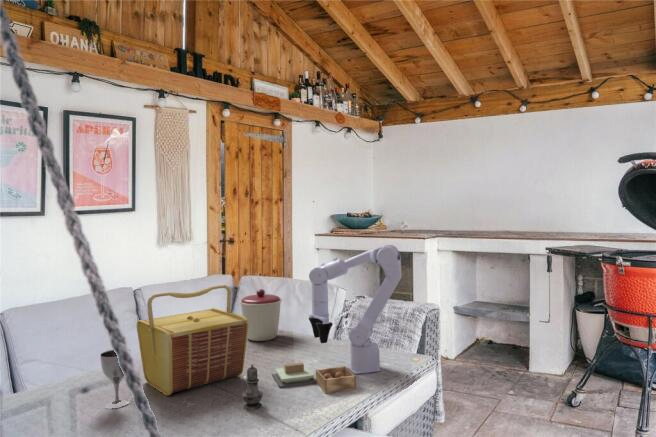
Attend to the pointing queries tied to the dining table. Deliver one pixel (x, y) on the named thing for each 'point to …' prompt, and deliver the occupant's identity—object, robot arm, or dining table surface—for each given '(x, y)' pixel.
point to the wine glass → (112, 370)
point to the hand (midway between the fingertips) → (320, 340)
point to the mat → (282, 384)
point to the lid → (294, 373)
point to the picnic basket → (192, 345)
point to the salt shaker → (252, 390)
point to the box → (335, 379)
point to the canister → (261, 315)
